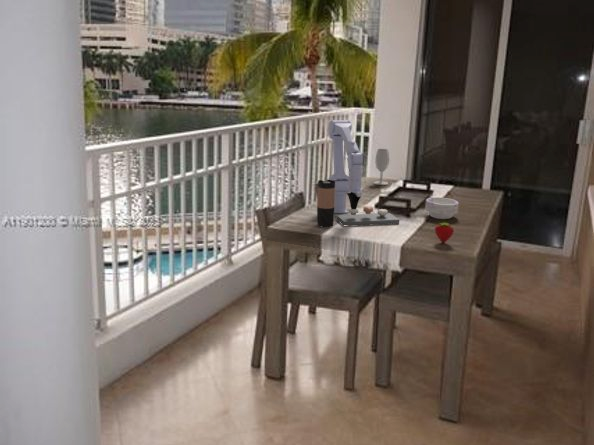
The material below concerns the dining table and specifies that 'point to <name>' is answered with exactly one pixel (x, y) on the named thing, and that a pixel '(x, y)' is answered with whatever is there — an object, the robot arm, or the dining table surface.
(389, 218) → the grey flat board
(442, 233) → the strawberry
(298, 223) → the dining table surface
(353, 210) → the inner button
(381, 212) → the outer button
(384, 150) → the wineglass
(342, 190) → the robot arm
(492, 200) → the dining table surface
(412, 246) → the dining table surface
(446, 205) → the paper bowls
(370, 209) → the middle button
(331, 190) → the travel mug
